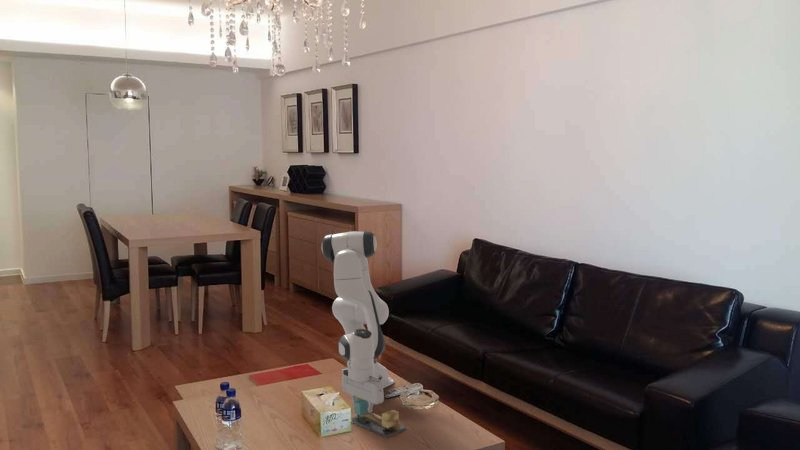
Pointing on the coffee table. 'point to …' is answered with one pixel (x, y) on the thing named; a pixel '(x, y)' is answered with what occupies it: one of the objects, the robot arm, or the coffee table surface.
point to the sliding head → (361, 407)
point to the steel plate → (376, 426)
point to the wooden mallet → (386, 419)
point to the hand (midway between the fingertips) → (362, 409)
